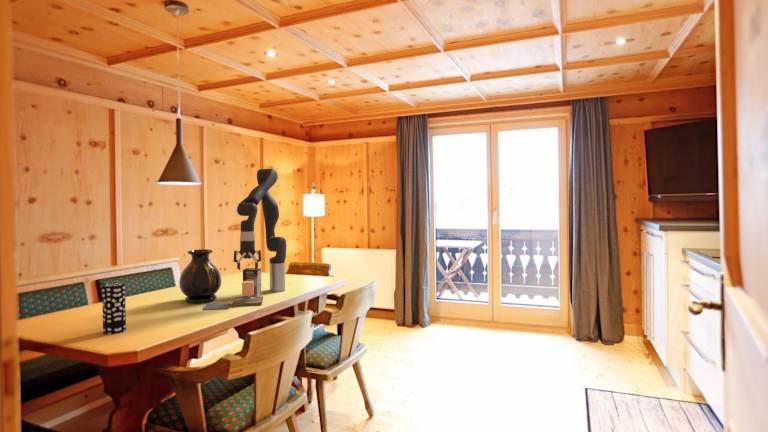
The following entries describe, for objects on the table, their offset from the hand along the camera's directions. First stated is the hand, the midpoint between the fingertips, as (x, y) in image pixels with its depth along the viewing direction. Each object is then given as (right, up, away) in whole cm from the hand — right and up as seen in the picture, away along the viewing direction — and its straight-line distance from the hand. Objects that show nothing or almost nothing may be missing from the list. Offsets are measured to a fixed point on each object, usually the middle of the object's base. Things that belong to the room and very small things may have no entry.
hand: (247, 269), depth 238 cm
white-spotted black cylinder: (-41, -20, -51) cm, 69 cm away
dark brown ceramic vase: (-28, -18, +6) cm, 34 cm away
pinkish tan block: (0, -14, +1) cm, 14 cm away
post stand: (0, -18, +1) cm, 18 cm away
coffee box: (-2, -18, +16) cm, 24 cm away
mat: (-13, -19, -8) cm, 24 cm away
